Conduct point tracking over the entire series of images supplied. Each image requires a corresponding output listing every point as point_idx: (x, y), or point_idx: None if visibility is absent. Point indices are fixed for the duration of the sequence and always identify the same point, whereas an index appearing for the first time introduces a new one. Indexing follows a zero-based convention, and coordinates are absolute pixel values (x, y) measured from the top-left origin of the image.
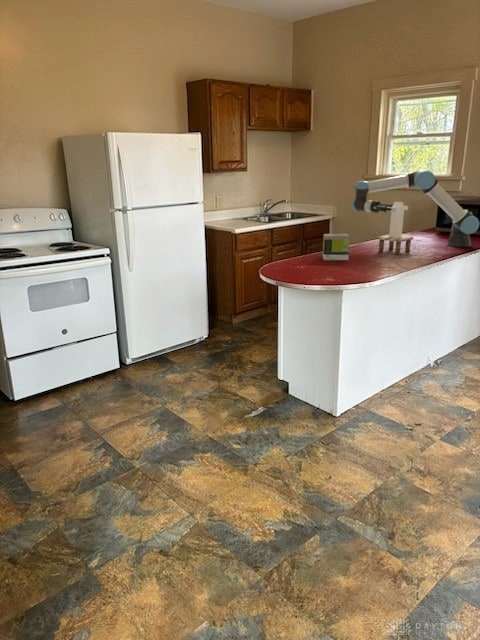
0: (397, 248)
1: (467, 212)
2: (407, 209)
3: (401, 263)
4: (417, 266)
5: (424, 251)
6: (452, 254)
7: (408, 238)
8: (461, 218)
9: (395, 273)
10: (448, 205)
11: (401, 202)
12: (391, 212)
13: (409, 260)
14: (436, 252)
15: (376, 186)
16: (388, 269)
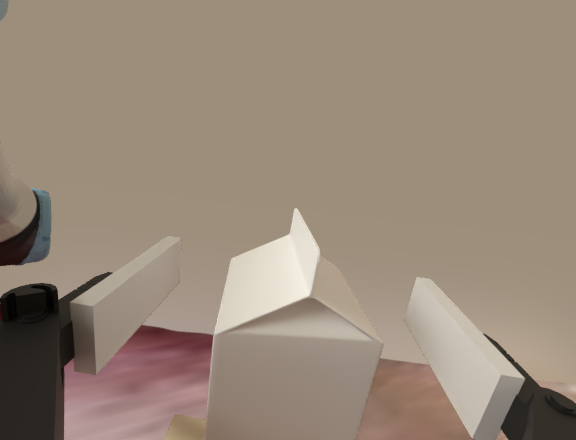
0: None
1: (17, 178)
2: (177, 274)
3: (448, 420)
4: (421, 365)
5: (110, 434)
6: (155, 332)
7: None
8: (36, 209)
9: (551, 384)
10: (2, 160)
11: (298, 217)
12: (363, 412)
13: (375, 415)
14: (126, 381)
15: None
16: None
